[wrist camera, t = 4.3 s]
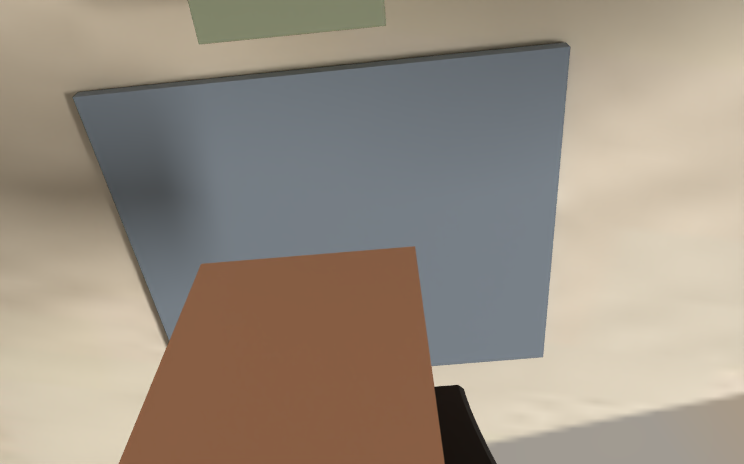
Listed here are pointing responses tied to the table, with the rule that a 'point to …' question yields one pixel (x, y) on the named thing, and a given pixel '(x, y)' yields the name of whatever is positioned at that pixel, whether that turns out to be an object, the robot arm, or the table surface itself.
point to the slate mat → (354, 180)
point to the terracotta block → (296, 366)
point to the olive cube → (280, 17)
